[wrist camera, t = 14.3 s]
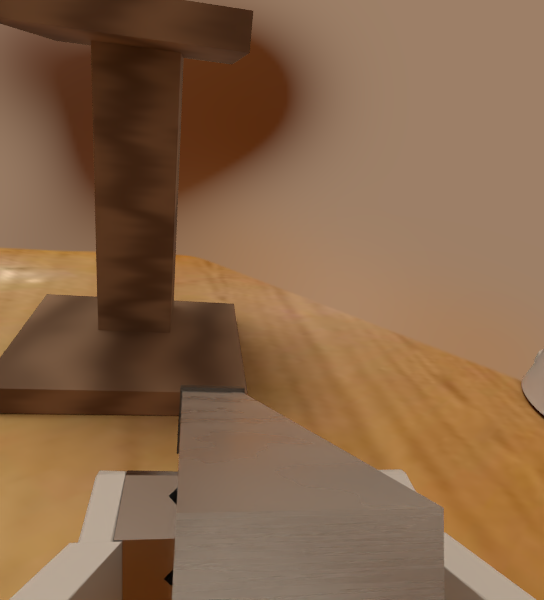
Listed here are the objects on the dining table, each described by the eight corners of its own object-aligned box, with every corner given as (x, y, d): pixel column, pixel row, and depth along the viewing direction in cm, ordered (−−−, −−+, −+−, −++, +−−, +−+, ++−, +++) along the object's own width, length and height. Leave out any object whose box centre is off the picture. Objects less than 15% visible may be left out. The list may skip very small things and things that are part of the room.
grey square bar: (236, 445, 27) (239, 385, 27) (455, 799, 5) (450, 489, 6) (177, 444, 26) (180, 384, 27) (147, 842, 5) (168, 493, 5)
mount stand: (232, 321, 51) (258, 41, 41) (244, 416, 36) (290, 16, 26) (48, 313, 48) (27, 7, 38) (-19, 412, 33) (-82, -41, 23)
